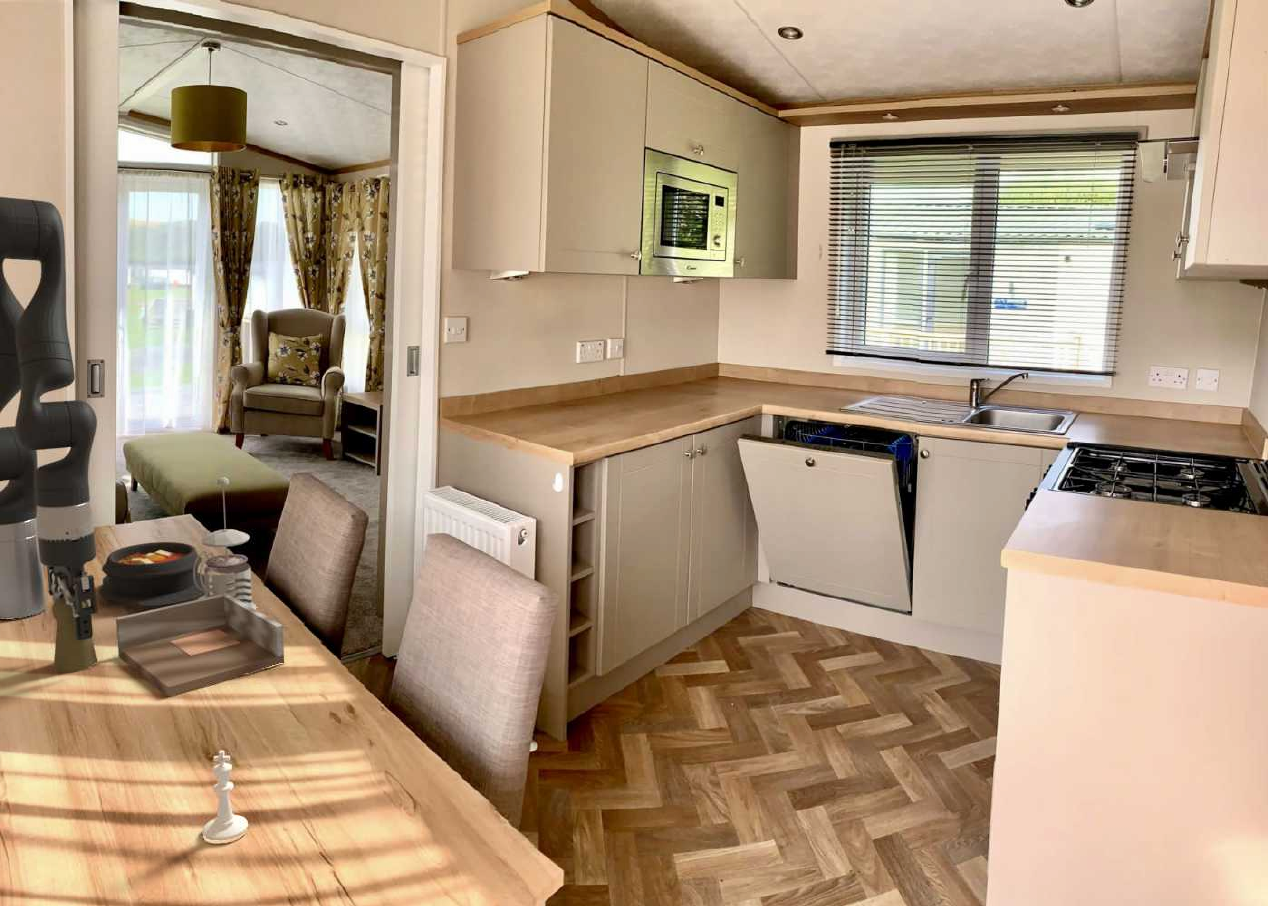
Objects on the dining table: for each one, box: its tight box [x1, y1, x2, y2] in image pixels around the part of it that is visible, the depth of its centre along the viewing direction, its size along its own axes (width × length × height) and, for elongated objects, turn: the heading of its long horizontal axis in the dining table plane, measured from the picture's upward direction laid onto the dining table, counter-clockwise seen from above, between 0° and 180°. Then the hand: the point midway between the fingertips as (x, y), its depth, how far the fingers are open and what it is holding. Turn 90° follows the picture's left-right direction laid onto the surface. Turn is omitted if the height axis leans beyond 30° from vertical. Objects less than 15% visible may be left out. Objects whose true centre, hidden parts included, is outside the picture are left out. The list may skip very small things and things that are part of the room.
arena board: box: [115, 593, 285, 698], centre depth 157 cm, size 20×18×6 cm
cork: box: [51, 597, 98, 673], centre depth 154 cm, size 6×6×11 cm
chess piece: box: [202, 750, 249, 841], centre depth 111 cm, size 5×5×10 cm
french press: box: [193, 477, 258, 610], centre depth 176 cm, size 10×12×25 cm
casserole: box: [98, 541, 205, 609], centre depth 186 cm, size 25×19×8 cm
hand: (75, 631), depth 153 cm, fingers open, 8 cm apart
